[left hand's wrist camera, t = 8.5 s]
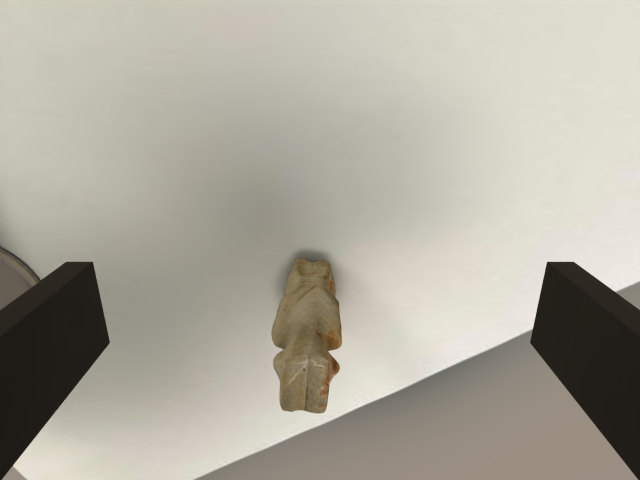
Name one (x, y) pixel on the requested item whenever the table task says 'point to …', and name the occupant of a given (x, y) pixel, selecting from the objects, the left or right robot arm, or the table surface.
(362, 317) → the table surface
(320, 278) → the sculpture
